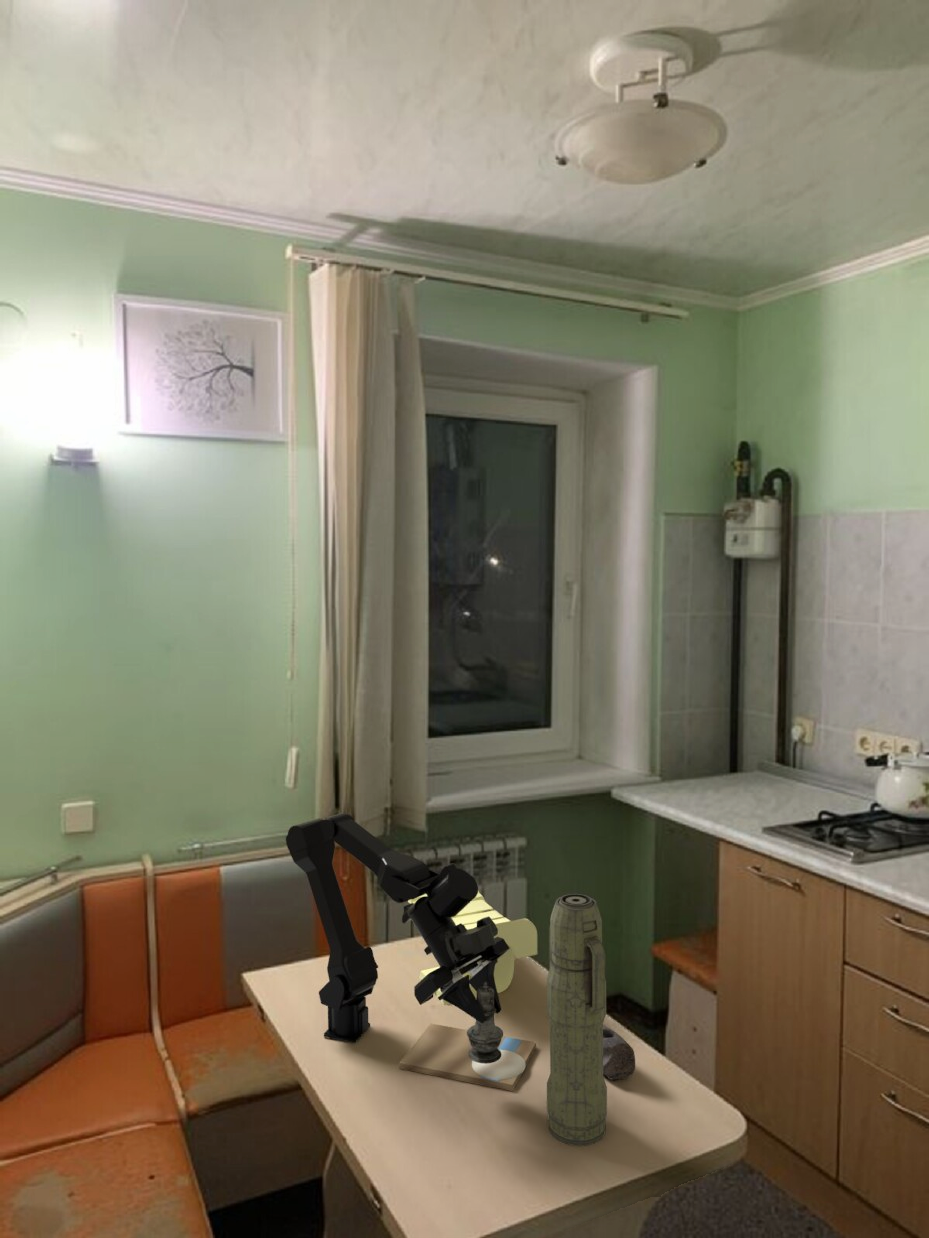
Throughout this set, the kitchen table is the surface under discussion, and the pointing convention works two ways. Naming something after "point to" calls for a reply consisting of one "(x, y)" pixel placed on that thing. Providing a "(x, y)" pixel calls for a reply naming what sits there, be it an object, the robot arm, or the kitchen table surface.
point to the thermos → (576, 1022)
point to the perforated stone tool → (617, 1055)
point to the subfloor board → (466, 1058)
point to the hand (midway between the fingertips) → (492, 1016)
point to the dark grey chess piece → (485, 1030)
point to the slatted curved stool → (514, 933)
